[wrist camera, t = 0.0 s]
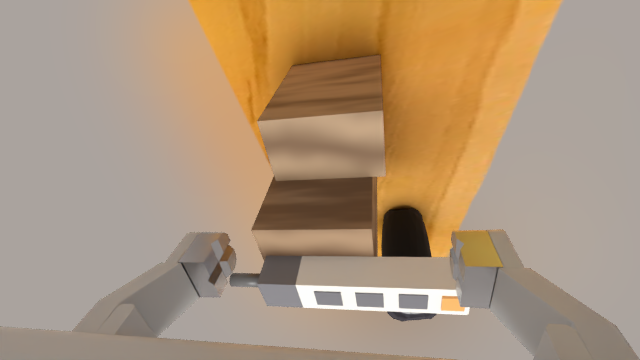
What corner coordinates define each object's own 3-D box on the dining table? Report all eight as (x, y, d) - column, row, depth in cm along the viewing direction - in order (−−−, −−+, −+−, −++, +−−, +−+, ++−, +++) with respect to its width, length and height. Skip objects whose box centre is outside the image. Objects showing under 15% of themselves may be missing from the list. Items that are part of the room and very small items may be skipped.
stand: (289, 65, 47) (224, 165, 26) (380, 54, 44) (385, 156, 24) (312, 172, 59) (279, 297, 38) (385, 168, 56) (391, 301, 36)
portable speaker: (388, 238, 67) (391, 327, 52) (375, 207, 62) (375, 296, 47) (429, 231, 64) (445, 323, 49) (419, 198, 59) (433, 290, 44)
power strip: (232, 255, 34) (219, 285, 31) (464, 257, 29) (474, 293, 26) (243, 276, 37) (232, 306, 34) (460, 282, 32) (468, 317, 29)
